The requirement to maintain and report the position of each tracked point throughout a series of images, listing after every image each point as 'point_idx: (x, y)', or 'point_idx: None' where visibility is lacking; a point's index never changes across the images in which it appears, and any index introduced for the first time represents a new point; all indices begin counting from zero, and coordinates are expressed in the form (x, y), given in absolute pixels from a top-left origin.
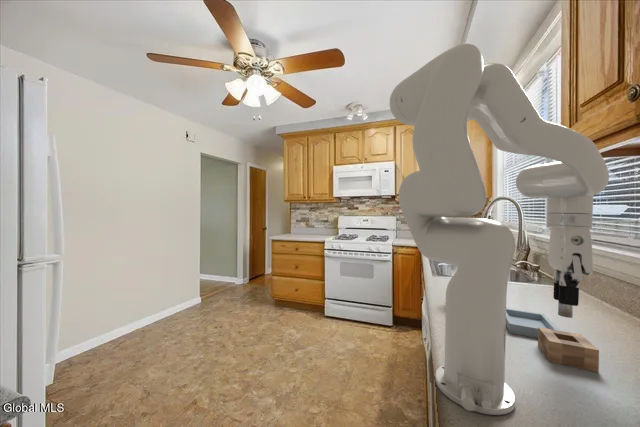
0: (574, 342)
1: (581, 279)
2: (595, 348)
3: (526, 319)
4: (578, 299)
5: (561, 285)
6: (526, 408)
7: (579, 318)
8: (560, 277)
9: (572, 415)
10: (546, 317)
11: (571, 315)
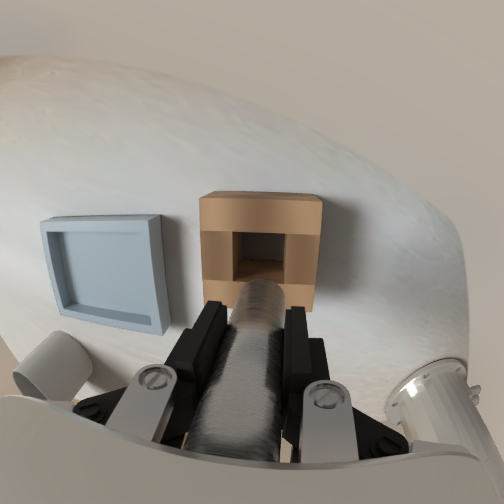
0: (290, 248)
1: (461, 448)
2: (313, 206)
3: (71, 261)
4: (306, 323)
5: (283, 431)
6: (453, 347)
7: (9, 135)
8: None
9: (460, 302)
10: (57, 223)
11: (281, 292)
